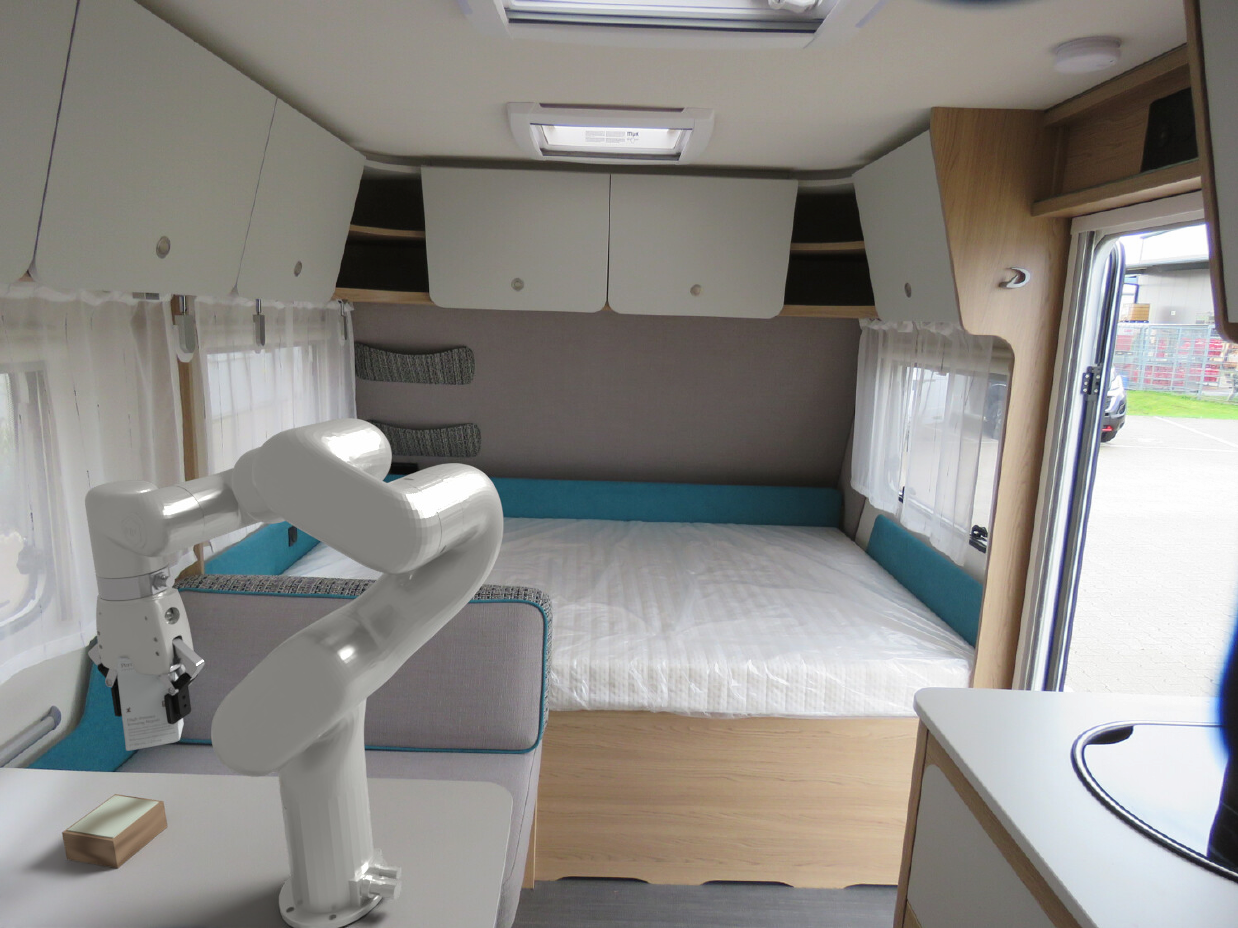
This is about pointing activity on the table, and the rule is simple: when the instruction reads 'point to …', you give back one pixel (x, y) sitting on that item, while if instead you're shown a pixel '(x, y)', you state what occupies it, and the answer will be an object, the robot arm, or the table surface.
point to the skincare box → (144, 708)
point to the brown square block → (115, 830)
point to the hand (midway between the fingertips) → (153, 713)
